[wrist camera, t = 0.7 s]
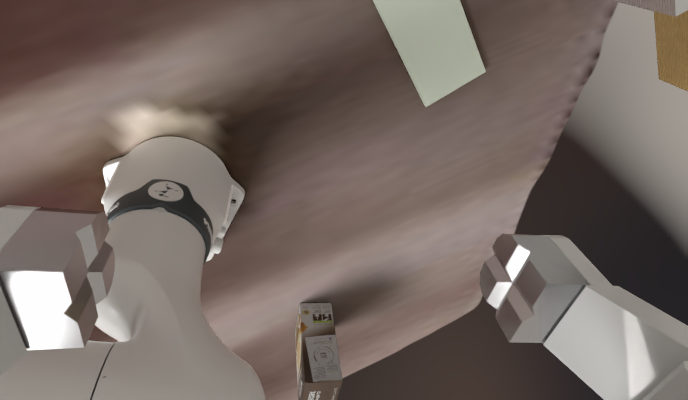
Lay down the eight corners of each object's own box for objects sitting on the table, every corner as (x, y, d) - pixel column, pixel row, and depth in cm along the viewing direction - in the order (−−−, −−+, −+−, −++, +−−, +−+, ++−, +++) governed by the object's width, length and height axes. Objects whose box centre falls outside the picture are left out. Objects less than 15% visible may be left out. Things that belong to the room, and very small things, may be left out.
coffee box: (298, 302, 76) (303, 382, 63) (331, 302, 77) (343, 380, 65) (294, 333, 81) (298, 412, 68) (325, 332, 83) (335, 410, 70)
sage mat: (483, 69, 55) (485, 71, 54) (424, 105, 56) (425, 107, 56) (419, -107, 42) (421, -107, 41) (345, -55, 44) (346, -54, 43)
